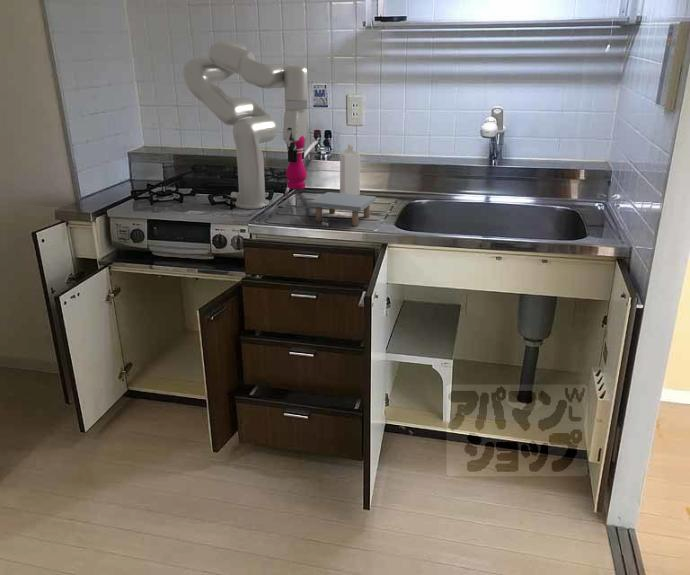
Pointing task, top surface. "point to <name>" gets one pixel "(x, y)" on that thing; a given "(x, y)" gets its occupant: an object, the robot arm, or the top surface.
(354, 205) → the stool
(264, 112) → the robot arm
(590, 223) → the top surface
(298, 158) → the pepper mill
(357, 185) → the milk
